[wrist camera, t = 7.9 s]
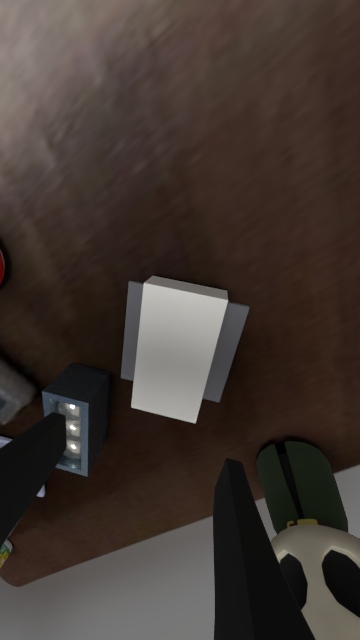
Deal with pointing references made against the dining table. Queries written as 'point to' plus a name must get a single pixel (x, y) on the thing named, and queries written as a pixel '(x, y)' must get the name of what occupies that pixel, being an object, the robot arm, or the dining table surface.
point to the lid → (176, 346)
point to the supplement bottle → (5, 551)
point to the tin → (80, 414)
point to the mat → (223, 350)
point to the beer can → (1, 266)
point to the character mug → (313, 538)
